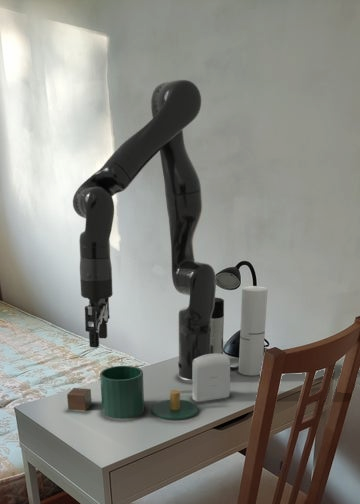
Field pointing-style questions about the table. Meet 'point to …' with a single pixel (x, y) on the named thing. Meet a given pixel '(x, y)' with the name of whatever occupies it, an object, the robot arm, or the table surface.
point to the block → (79, 399)
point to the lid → (175, 408)
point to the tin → (122, 392)
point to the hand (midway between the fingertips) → (98, 342)
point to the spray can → (217, 326)
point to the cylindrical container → (252, 329)
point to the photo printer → (211, 377)
